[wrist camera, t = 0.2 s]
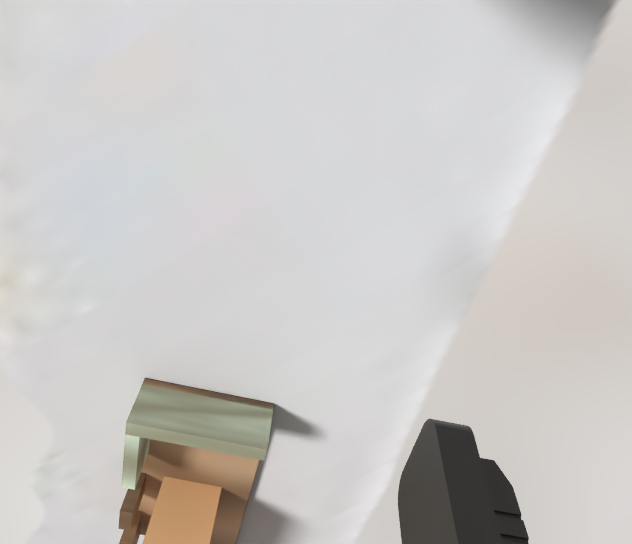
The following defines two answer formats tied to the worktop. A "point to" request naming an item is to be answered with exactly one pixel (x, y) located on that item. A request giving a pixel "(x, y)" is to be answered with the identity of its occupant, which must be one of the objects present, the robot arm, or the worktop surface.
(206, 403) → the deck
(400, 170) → the worktop surface
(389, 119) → the worktop surface
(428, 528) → the robot arm
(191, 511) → the block
